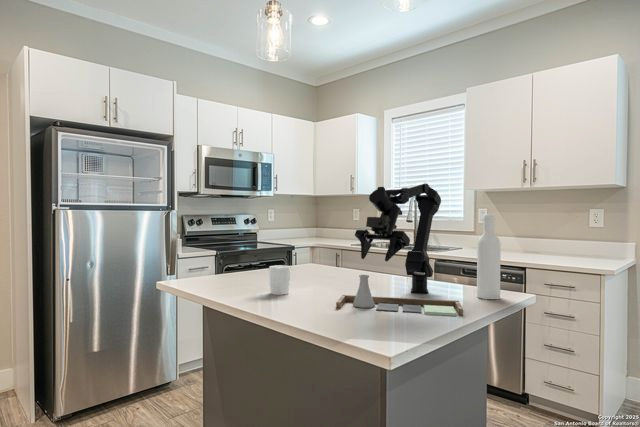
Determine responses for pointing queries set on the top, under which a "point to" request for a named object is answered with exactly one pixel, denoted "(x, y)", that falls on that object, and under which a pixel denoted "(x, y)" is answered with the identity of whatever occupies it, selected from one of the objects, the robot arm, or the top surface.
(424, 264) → the robot arm
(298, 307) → the top surface
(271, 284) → the white cup
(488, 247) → the bottle
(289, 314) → the top surface
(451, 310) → the pad
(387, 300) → the box
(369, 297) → the flask
